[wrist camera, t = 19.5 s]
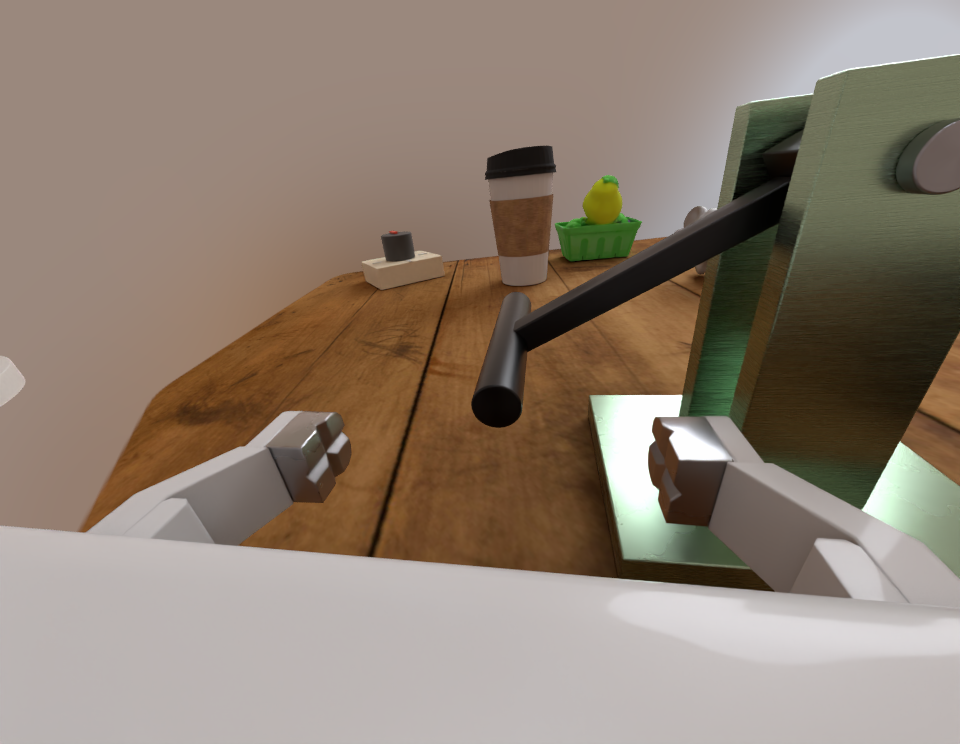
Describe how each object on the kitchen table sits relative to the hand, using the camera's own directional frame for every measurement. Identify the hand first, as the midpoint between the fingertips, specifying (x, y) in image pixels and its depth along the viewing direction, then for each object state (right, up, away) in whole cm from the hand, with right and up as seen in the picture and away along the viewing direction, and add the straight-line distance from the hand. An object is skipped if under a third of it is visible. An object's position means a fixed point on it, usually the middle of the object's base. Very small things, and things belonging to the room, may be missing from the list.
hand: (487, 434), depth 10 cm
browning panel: (-12, +16, +47) cm, 51 cm away
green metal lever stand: (+11, -3, +6) cm, 13 cm away
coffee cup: (+6, +14, +40) cm, 42 cm away
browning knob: (-12, +19, +46) cm, 51 cm away
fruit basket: (+18, +19, +48) cm, 55 cm away
